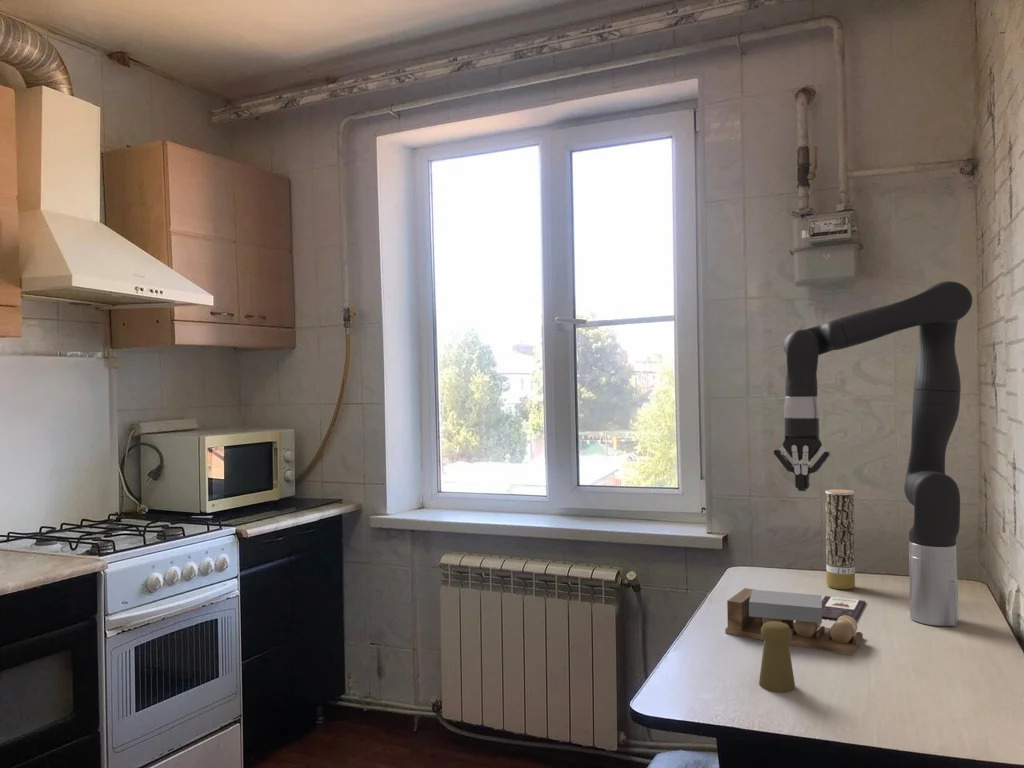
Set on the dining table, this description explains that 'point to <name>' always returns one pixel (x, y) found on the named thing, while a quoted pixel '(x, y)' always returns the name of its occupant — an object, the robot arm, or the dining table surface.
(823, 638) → the roller bed
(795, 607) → the slab
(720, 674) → the dining table surface
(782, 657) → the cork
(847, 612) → the chocolate bar
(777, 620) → the roller
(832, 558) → the paper tube
